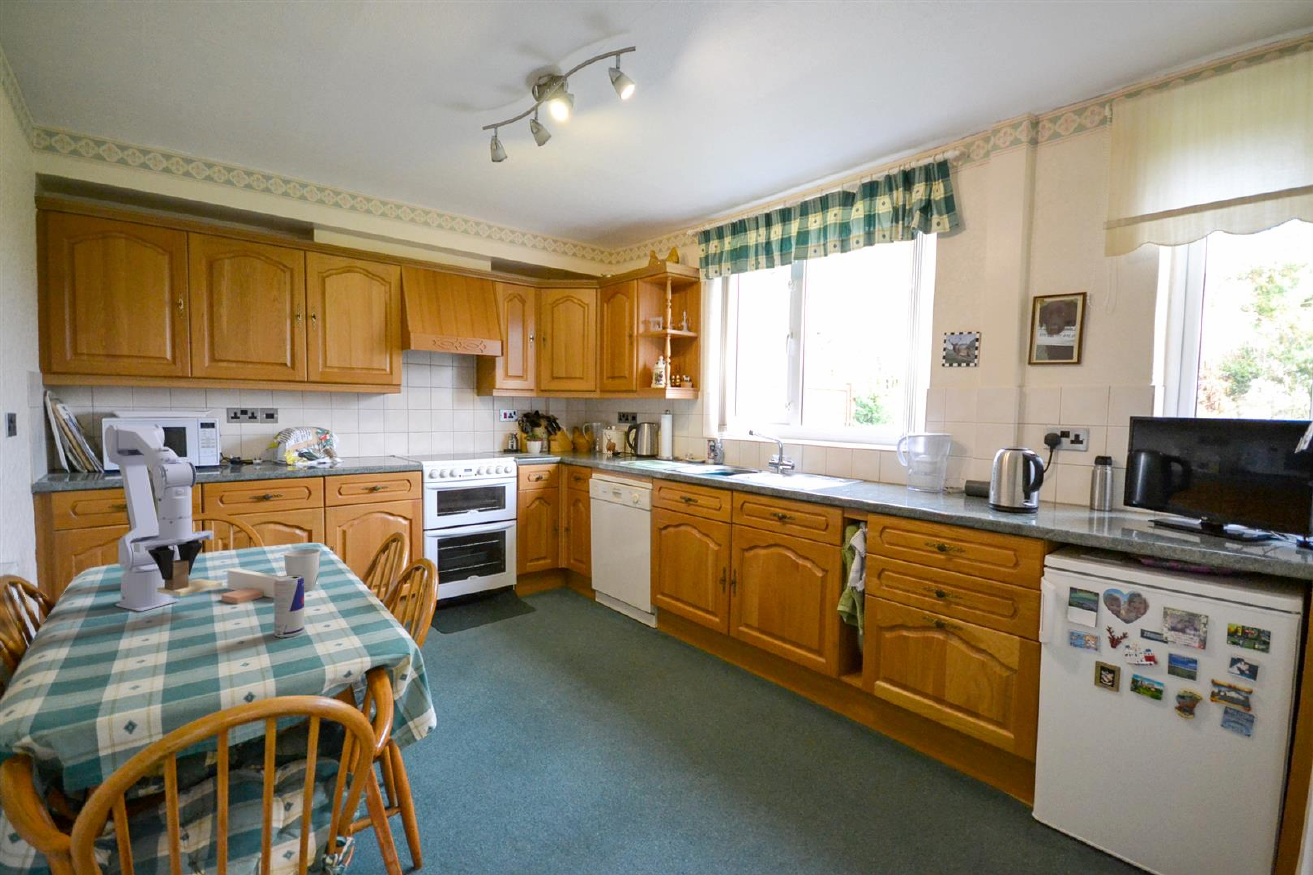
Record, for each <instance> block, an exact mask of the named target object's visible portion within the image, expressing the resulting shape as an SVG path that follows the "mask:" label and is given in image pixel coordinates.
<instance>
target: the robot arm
mask: <svg viewBox="0 0 1313 875" xmlns="http://www.w3.org/2000/svg"><path fill="white" fill-rule="evenodd" d="M164 443H165V431H164V429H163V427H162V426H161V425H160V424H145V425H144V424H135V425H134V424H130V425H129V424H127V425H125V424H123V425H122V424H119V425H118V424H116V425H115V424H109V425H108V426H107V427H106V429H105V432H104V445H105V450H106V457H108V461H109V463H112V464H113V465H114V464H115V465H117V466H118V469H119V471H120V475H121V479H122V483H123V484H122V485H123V490H124V495H125V500H126V501H127V506H126V508H127V507H128V512H129V517H130V523H131V528H132V530H131V531H130V532H129V531H128V532H127V533H126V534H124V535H123V536H122V537H120V539H119V541H118V542H117V547H118V551H117V552H118V553H117V557H118V564H119V566H120V568H121V569H122V570H124V572H123V573H122V574H121V578H120V603H116V604H115V606H116V607H119V608H124V609H128V610H132V611H135V612H143V611H147V610H151V609H154V608H155V609H156V608H159V607H162V606H166V605H171V604H174V603H177V602H179V599H178V598H175V597H174V598H173V597H171V596H170V595H169V594H164V593H159V592H157V588H159V587H163V586H165V580H172V562H173V561H174V560H178V557H179V560H180V559H181V560H187V561H189V576H191V572H192V569H193V565H194V564H195V560H196V559H197V556H198V554H199V553H200V551H201V550H202V549H203V545H204V544H203V542H201V541H206V540H209V541H210V540H214V538H215V532H214V530H209V529H208V530H201V531H193V502H192V501H193V499H192V497H193V496H192V495H193V492H192V491H193V489H192V488H194V487H195V486H196V484H197V480H198V479H197V478H198V476H197V474H198V473H197V470H196V467H195V465H194V463H193V462H192V461H183V460H182V459H181V458H180V457H179V456H178V455H177V453H176V452H175V451H174V450H173V449H171V448H170V447H168V446H164ZM147 467H148V469H149V470H150V471H151V473H152V474H153V484H154V487H155V495H156V497H157V498H158V522H157V517H156V512H155V507H154V502H153V497H152V492H151V486H150V481H149V476H148V471H147Z"/></svg>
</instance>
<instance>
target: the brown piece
mask: <svg viewBox="0 0 1313 875" xmlns="http://www.w3.org/2000/svg"><path fill="white" fill-rule="evenodd" d="M189 578H190V575H189V561H187V560H181V559H180V558H179V559H176V560H174V561H173V562H172V580H165V586H163V587H159V588H157V592H159V593H164V594H169V595H171V596H175V597H184V596H190V595H193V594H197V593H201V592H206V591H210V590H214V589H218V588H222V587H223V582H222V581H221V582H220V581H215V580H209V579H203V578H196V579H191V580H190V579H189Z"/></svg>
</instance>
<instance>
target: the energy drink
mask: <svg viewBox="0 0 1313 875" xmlns="http://www.w3.org/2000/svg"><path fill="white" fill-rule="evenodd" d="M279 576H280V577H278V578H276V579H275V582H274V598H273V604H274V606H273V610H274V612H273V614H274V617H273V619H274V620H273V622H274V623H273V625H274V627H273V628H274V630H273V631H274V636H275V637H276V636H277V638H279V637H280V638H281V639H283V638H284V637H287V638H291V637H292V636H293V637H296V636H298V635H301V634H302V633H303V632H304V631H305V592H304V578H303V575H299V574H292V575H287V574H285V575H279ZM300 633H301V634H300Z"/></svg>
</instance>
